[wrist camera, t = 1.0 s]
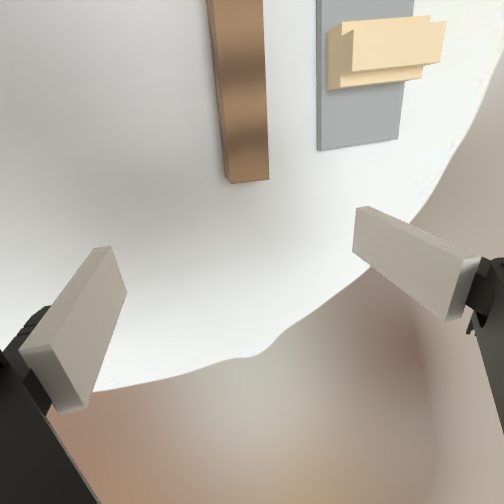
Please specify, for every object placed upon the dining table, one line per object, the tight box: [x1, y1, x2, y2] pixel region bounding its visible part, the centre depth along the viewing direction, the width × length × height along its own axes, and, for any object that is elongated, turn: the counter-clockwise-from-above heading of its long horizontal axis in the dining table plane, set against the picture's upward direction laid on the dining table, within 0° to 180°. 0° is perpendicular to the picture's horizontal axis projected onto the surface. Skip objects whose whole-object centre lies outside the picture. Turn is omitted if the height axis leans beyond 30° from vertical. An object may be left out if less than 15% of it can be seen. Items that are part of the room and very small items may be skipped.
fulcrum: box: [316, 0, 446, 151], centre depth 27 cm, size 17×10×6 cm, turn 7°
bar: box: [206, 0, 269, 184], centre depth 25 cm, size 20×4×5 cm, turn 4°
